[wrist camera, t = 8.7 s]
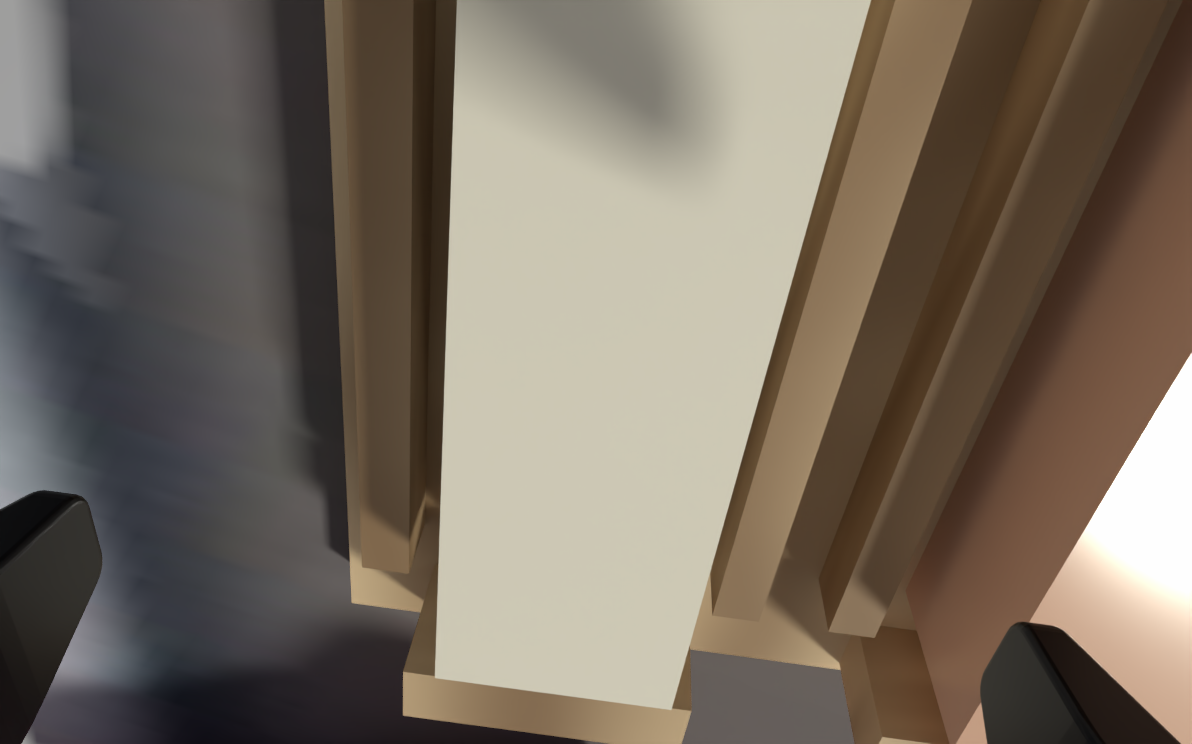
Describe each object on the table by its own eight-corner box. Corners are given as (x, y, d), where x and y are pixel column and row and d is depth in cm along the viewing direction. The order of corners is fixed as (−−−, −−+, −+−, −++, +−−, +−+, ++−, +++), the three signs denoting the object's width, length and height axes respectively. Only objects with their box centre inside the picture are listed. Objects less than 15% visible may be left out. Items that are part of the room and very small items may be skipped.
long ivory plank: (888, -344, 11) (981, -392, 8) (670, 555, 20) (671, 709, 17) (530, -398, 11) (472, -469, 8) (473, 528, 20) (434, 678, 17)
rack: (2007, -486, 10) (2624, -604, 7) (1137, 678, 23) (1217, 832, 20) (319, -755, 10) (150, -1005, 7) (363, 572, 23) (311, 710, 19)
